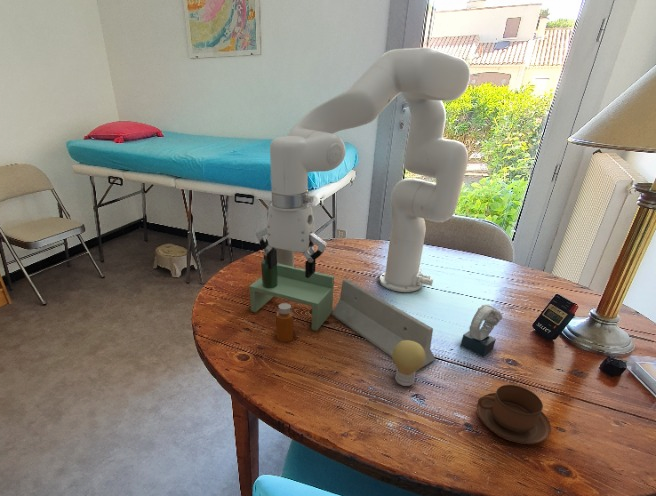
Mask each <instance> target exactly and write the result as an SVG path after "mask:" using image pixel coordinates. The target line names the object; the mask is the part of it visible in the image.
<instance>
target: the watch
mask: <svg viewBox="0 0 656 496" xmlns="http://www.w3.org/2000/svg"><path fill="white" fill-rule="evenodd" d="M502 319H503V314H502V313H501V312H500V310H499V309H497V308H496V307H494V306H492V305H489V304H482V305H481V306H480V307H478V308H477V310H476V312H475V314H474V315H473V318H472V319H471V322H470V325H469V328H468V329H469V330H468V331H467V332H465V333H463V335H462V338H461V342H460V347H463V348H465V349H466V350H468V351H470V352H472V353H474V354H476V355H478V356H480V357H482V358H484V357H485V356H486V355H488V354H489V353H491V352H492V351H493V350H494V347H495V345H496V341H497V338H495V337H493V336H491V335H490V334H491V333H492V331H493V330H494V328H495V327H496V326H497V325H498V324H499V322H501V320H502Z"/></svg>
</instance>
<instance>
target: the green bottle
mask: <svg viewBox="0 0 656 496" xmlns="http://www.w3.org/2000/svg"><path fill="white" fill-rule="evenodd" d="M260 264H261V266H260V267H261V277H262V286H263V287H265V288H274V287H276V286H277V285H278V268H277V265H276V266H275V267H274V268H272V269H271V270H270V269H268V264H267V253H265V252H264V253H263V259H262V260H261V263H260Z"/></svg>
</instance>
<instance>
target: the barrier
mask: <svg viewBox="0 0 656 496" xmlns="http://www.w3.org/2000/svg"><path fill="white" fill-rule="evenodd" d="M331 316H332V317H334V318H335V319H337V320H338V321H339V322H341V323H342V324H343V325H345V326H347V327H348V328H349V329H351V330H352V331H354V332H355V333H357V334H358V335H359V336H361V337H362V338H364V339H365V340H367V341H368V342H370V343H371V344H372V345H374V346H375V347H376V348H378V349H379V350H381V351H382V352H384V353H385V354H386V355H388V356H390V357H391V358H393V357H392V353H393V350H394V348H395V346H396V345H397V344H398V343H399V342H401V341H404V340H410V341H414V342H417V343H419V344H420V345H421V346H422V347H423V349H424V352H425V362H424V364H423V366H422V367H421V368H424V367H425V366H426V365H429V364H431V363H433V362H435V359H436V358H435V356H434V353H433V352H432V350H431V348H432V347H431V346H432V339H433V333H434V332H433V331H434V328H433V327H431V326H430V325H428V324H426V323H425V322H423V321H421V320H419V319H418V318H416V317H414V316H412V315H411V314H409V313H407V312H405V311H404V310H402V309H400V308H398V307H396V306H394V305H393V304H391V303H389V302H388V301H386V300H384V299H382V298H381V297H379V296H377V295H375V294H374V293H372V292H370V291H368V290H367V289H365V288H363V287H361V286H360V285H358V284H356V283H354V282H353V281H351V280H349V279H347V278H345V279H342V283H341V289H340V296H339V300H338V302H337V304H336V305H335V307H334V309H333V310H332V313H331Z"/></svg>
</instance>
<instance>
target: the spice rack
mask: <svg viewBox="0 0 656 496" xmlns="http://www.w3.org/2000/svg"><path fill="white" fill-rule="evenodd" d="M277 268H278V285H277V286H276V287H274V288H265V287H263V286H262V276H260V277H259V278H258V279H256V280H255V281H254V282H252V283H251V284H250V285H249V299H250V300H249V301H250V312H253V313H257V312H258V311H259V310H260V309H261V308H263V307H264V306H265V305H266V304H267V303H268V302H269V301H271V299H273V298H279V299H283V300H286V301H290V302H294V303H297V304H301V305H304V306H309V307H311V330H314V331H318V330H319V329H320V328H321V327H322V325H323V324H324V323H325V321H326V320H327V319H328V318H329V316H331V315H332V312H333V301H334V288H335V287H334V285H335V275H333V274H328V273H322V272H318V271H315V273H314V274H312V275H311V276H310V277H309V278H306V277H305V268H300V267H296V266H294V267H292V266H288V265H283V264H279V263H277Z"/></svg>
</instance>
